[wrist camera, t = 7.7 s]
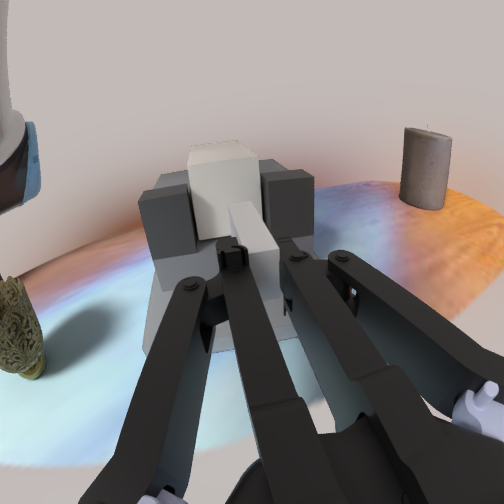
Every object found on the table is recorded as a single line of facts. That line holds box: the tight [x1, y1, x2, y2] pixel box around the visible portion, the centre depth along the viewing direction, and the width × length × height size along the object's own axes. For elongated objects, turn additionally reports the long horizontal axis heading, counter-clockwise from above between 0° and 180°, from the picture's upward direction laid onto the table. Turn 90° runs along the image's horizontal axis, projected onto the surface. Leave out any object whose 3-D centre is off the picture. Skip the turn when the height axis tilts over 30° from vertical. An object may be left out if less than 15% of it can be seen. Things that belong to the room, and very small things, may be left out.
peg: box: [187, 140, 263, 240], centre depth 30 cm, size 14×6×7 cm, turn 11°
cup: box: [0, 276, 46, 380], centre depth 16 cm, size 8×7×8 cm
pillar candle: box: [399, 125, 452, 210], centre depth 42 cm, size 10×10×15 cm
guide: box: [138, 159, 319, 357], centre depth 28 cm, size 24×17×10 cm
